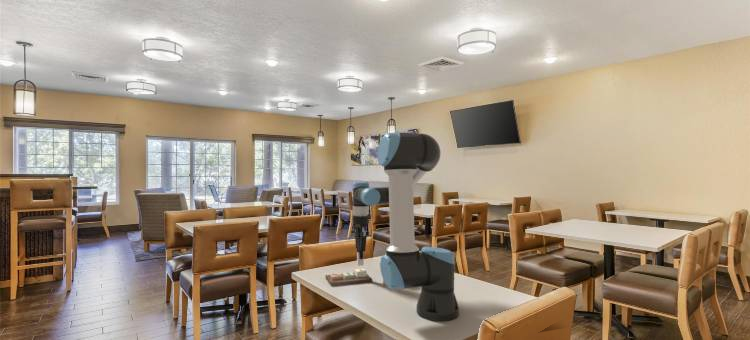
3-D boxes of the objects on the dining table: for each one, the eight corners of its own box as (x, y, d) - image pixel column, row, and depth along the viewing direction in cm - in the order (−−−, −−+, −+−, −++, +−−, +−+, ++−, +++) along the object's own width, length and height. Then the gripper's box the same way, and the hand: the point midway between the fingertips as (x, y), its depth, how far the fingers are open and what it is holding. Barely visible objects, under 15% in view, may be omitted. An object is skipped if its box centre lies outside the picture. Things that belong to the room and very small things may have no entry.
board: (372, 281, 170) (372, 278, 170) (331, 286, 164) (331, 282, 164) (364, 274, 182) (364, 271, 181) (325, 278, 175) (325, 275, 175)
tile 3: (342, 281, 169) (342, 275, 169) (332, 282, 168) (332, 276, 168) (339, 278, 174) (339, 272, 174) (330, 279, 172) (330, 273, 172)
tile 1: (366, 276, 173) (366, 270, 173) (357, 277, 172) (357, 271, 172) (363, 273, 177) (363, 268, 177) (354, 274, 176) (354, 268, 176)
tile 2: (354, 280, 171) (354, 274, 171) (344, 281, 170) (345, 275, 170) (351, 277, 176) (351, 271, 176) (342, 278, 174) (342, 272, 174)
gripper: (372, 216, 169) (372, 268, 170) (364, 212, 182) (363, 260, 182) (356, 217, 167) (356, 269, 167) (349, 213, 179) (348, 262, 180)
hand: (360, 265), depth 175 cm, fingers closed
